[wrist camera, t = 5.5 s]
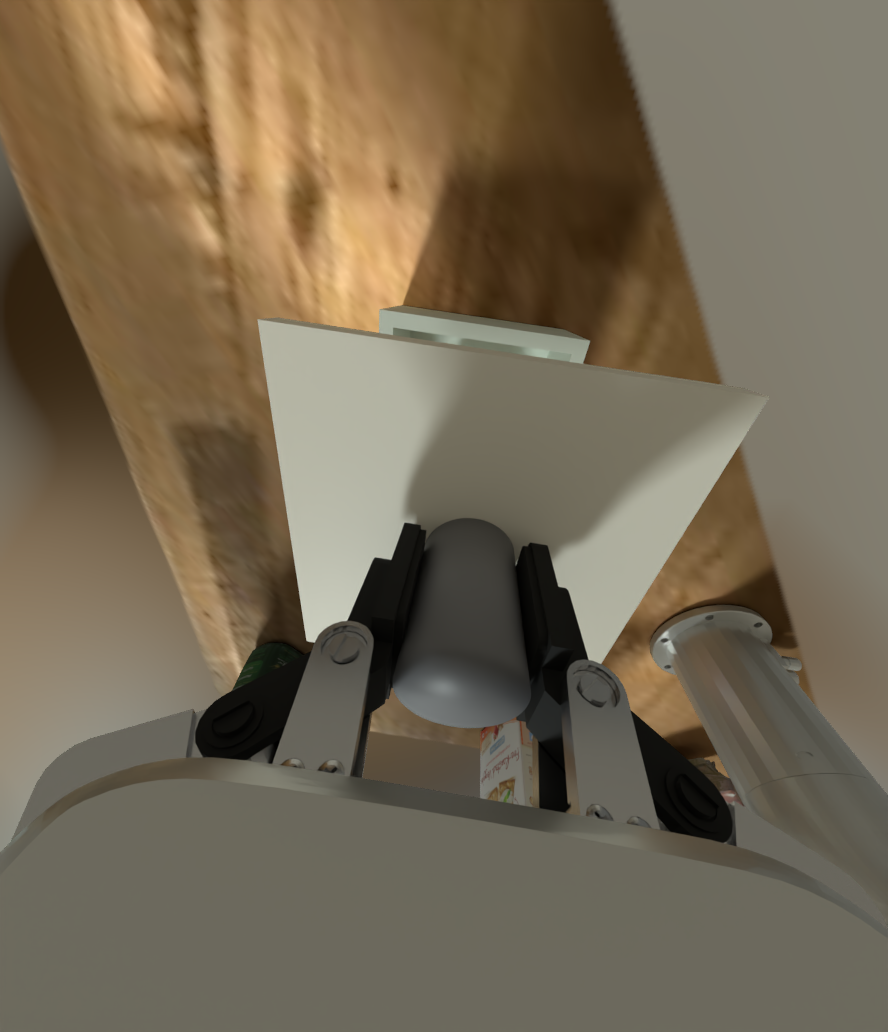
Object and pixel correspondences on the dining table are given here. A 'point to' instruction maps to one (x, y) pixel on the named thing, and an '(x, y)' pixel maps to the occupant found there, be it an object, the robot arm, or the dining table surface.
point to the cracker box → (507, 763)
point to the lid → (484, 492)
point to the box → (483, 333)
